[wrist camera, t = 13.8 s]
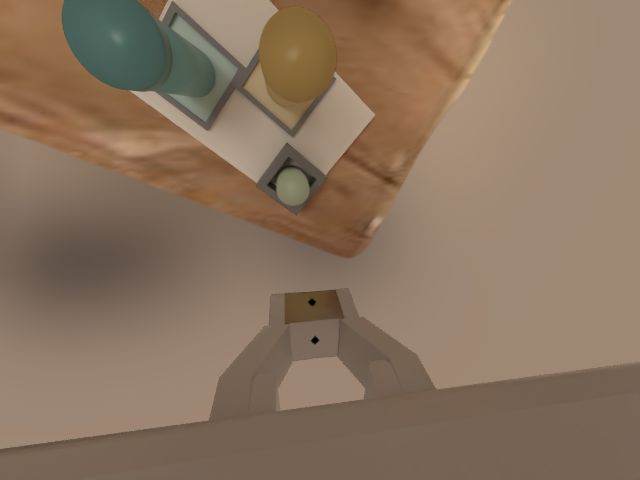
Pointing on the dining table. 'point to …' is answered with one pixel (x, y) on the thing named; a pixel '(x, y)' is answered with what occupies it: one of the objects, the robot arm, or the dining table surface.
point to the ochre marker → (296, 56)
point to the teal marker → (134, 48)
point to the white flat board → (255, 100)
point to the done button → (292, 185)
